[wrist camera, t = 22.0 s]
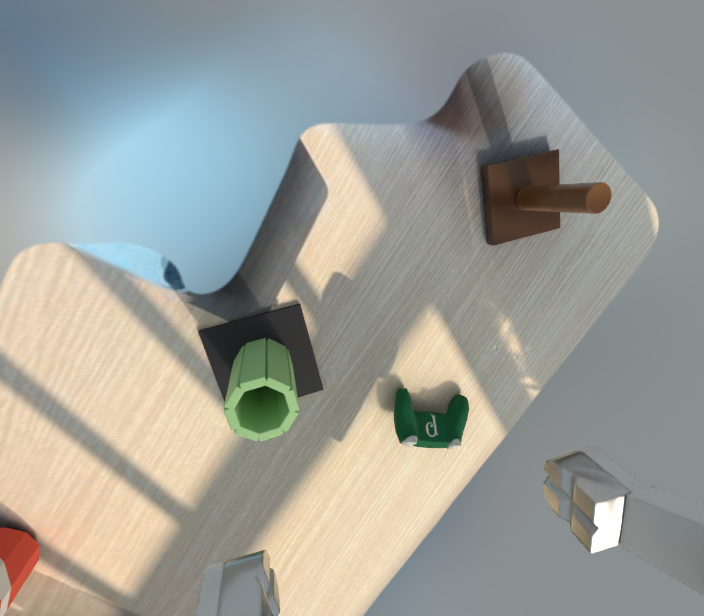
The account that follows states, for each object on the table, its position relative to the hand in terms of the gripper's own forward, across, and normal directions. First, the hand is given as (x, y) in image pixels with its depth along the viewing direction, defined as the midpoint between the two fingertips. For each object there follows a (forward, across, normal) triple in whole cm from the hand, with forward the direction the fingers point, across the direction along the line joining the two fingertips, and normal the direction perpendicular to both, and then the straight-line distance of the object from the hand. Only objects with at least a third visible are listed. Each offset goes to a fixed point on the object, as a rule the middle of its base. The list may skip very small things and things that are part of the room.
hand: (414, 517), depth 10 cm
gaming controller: (+28, -10, +19) cm, 35 cm away
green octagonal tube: (+27, +7, +8) cm, 29 cm away
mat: (+28, +6, +8) cm, 29 cm away
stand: (+28, -23, -4) cm, 37 cm away
